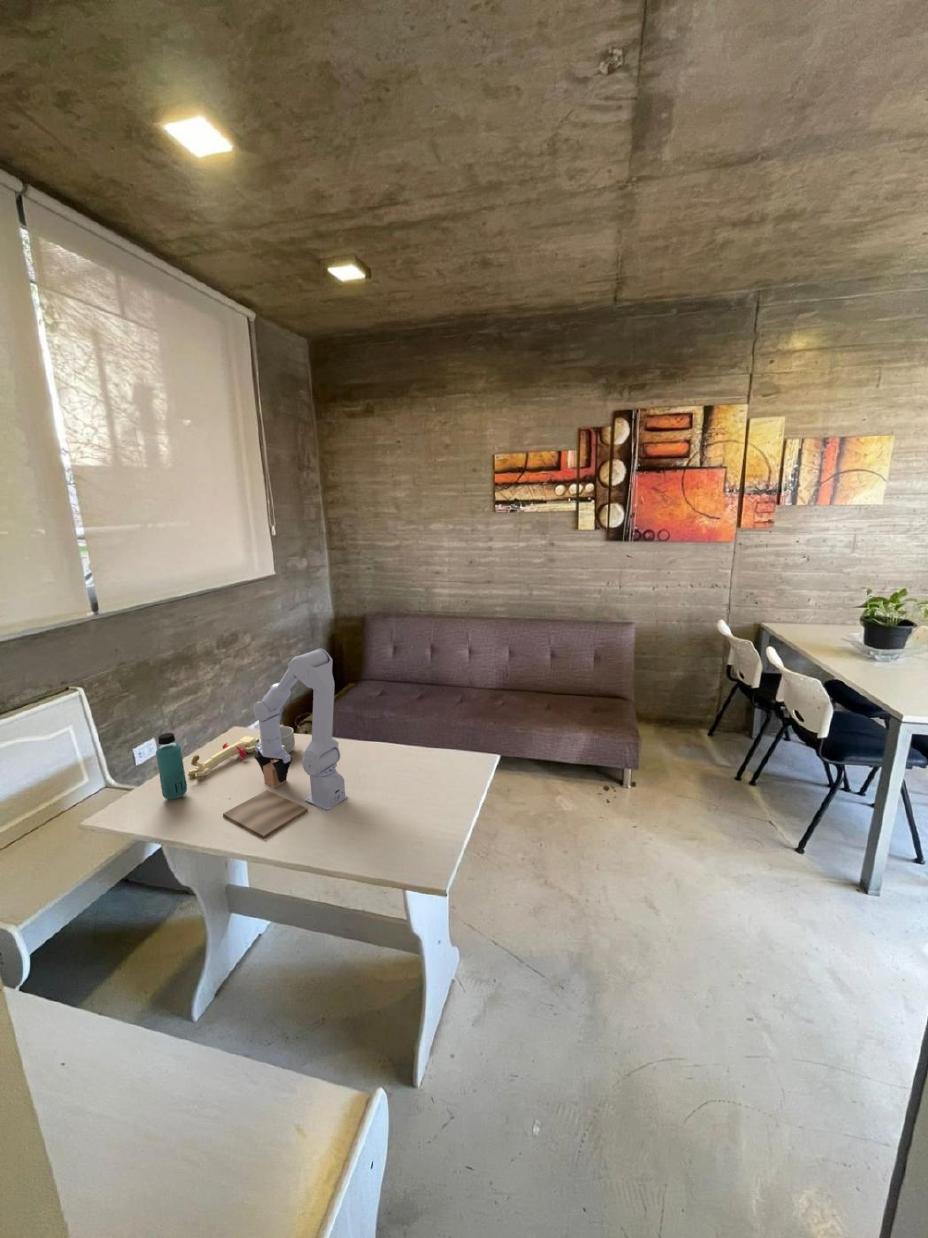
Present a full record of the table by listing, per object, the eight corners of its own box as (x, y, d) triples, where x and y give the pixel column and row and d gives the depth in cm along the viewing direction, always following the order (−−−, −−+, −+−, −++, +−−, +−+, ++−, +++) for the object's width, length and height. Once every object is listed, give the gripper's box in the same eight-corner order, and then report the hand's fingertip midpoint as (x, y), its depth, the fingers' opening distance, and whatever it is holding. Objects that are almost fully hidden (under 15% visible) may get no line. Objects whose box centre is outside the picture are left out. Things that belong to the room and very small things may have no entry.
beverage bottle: (176, 805, 140) (167, 740, 136) (157, 802, 142) (147, 738, 137) (193, 792, 146) (184, 730, 142) (174, 790, 148) (165, 729, 144)
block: (286, 781, 152) (284, 763, 151) (273, 788, 149) (272, 770, 147) (277, 777, 155) (275, 760, 153) (264, 783, 151) (262, 766, 150)
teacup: (288, 761, 165) (286, 739, 163) (257, 761, 165) (254, 739, 163) (303, 742, 178) (301, 722, 177) (273, 742, 179) (271, 722, 177)
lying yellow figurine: (206, 786, 152) (268, 746, 174) (201, 762, 150) (264, 724, 172) (185, 780, 156) (248, 741, 178) (179, 756, 154) (243, 720, 176)
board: (307, 811, 136) (307, 808, 136) (263, 839, 125) (263, 835, 125) (267, 792, 146) (267, 789, 146) (223, 817, 134) (222, 813, 134)
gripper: (297, 737, 148) (301, 778, 151) (267, 726, 156) (271, 765, 158) (277, 746, 142) (281, 788, 145) (247, 735, 150) (251, 775, 153)
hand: (274, 777), depth 151 cm, fingers open, 7 cm apart
